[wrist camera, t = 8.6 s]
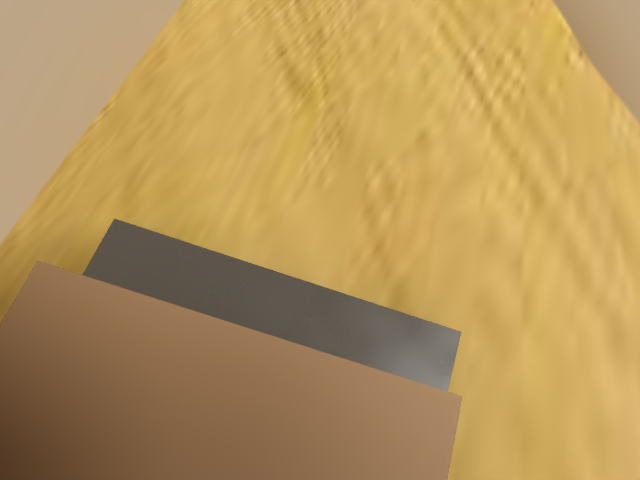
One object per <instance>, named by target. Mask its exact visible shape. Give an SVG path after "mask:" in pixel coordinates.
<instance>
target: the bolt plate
mask: <svg viewBox="0 0 640 480" xmlns="http://www.w3.org/2000/svg"><path fill="white" fill-rule="evenodd" d="M83 275H84V276H87V277H90V278H93V279H96V280H99V281H102V282H105V283H109V284H112V285H115V286H118V287H121V288H124V289H127V290H131V291H134V292H137V293H140V294H143V295H146V296H149V297H152V298H156V299H159V300H162V301H165V302H168V303H171V304H174V305H178V306H181V307H184V308H187V309H190V310H193V311H196V312H199V313H203V314H206V315H209V316H212V317H215V318H218V319H221V320H225V321H228V322H231V323H234V324H237V325H240V326H243V327H246V328H250V329H253V330H256V331H259V332H262V333H265V334H268V335H272V336H275V337H278V338H281V339H284V340H287V341H290V342H293V343H297V344H300V345H303V346H306V347H309V348H312V349H315V350H318V351H322V352H325V353H328V354H331V355H334V356H337V357H340V358H344V359H347V360H350V361H353V362H356V363H359V364H362V365H365V366H369V367H372V368H375V369H378V370H381V371H384V372H387V373H391V374H394V375H397V376H400V377H403V378H406V379H409V380H412V381H416V382H419V383H422V384H425V385H428V386H431V387H434V388H438V389H441V390H444V391H447V392H448V387H449V383H450V379H451V374H452V370H453V365H454V361H455V357H456V352H457V348H458V344H459V339H460V335H461V332H460V331H456V330H453V329H450V328H447V327H444V326H441V325H438V324H435V323H432V322H429V321H426V320H423V319H420V318H417V317H414V316H411V315H407V314H404V313H401V312H398V311H395V310H392V309H389V308H386V307H383V306H380V305H377V304H374V303H371V302H368V301H365V300H362V299H358V298H355V297H352V296H349V295H346V294H343V293H340V292H337V291H334V290H331V289H328V288H325V287H322V286H319V285H316V284H313V283H309V282H306V281H303V280H300V279H297V278H294V277H291V276H288V275H285V274H282V273H279V272H276V271H273V270H270V269H267V268H264V267H260V266H257V265H254V264H251V263H248V262H245V261H242V260H239V259H236V258H233V257H230V256H227V255H224V254H221V253H218V252H215V251H212V250H208V249H205V248H202V247H199V246H196V245H193V244H190V243H187V242H184V241H181V240H178V239H175V238H172V237H169V236H166V235H163V234H159V233H156V232H153V231H150V230H147V229H144V228H141V227H138V226H135V225H132V224H129V223H126V222H123V221H120V220H117V219H114V220H113V222H112V224H111V226H110V227H109V229H108V231H107V233H106V235H105V236H104V238H103V240H102V242H101V243H100V245H99V247H98V249H97V250H96V252H95V254H94V256H93V258H92V259H91V261H90V263H89V265H88V266H87V268H86V270H85V272H84V273H83Z"/></svg>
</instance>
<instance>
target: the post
mask: <svg viewBox="0 0 640 480" xmlns="http://www.w3.org/2000/svg"><path fill="white" fill-rule="evenodd" d="M461 401H462V396H459V395H456V394H453V393H450V392H447V391H444V390H441V389H438V388H434V387H431V386H428V385H425V384H422V383H419V382H416V381H412V380H409V379H406V378H403V377H400V376H397V375H394V374H391V373H387V372H384V371H381V370H378V369H375V368H372V367H369V366H365V365H362V364H359V363H356V362H353V361H350V360H347V359H344V358H340V357H337V356H334V355H331V354H328V353H325V352H322V351H318V350H315V349H312V348H309V347H306V346H303V345H300V344H297V343H293V342H290V341H287V340H284V339H281V338H278V337H275V336H272V335H268V334H265V333H262V332H259V331H256V330H253V329H250V328H246V327H243V326H240V325H237V324H234V323H231V322H228V321H225V320H221V319H218V318H215V317H212V316H209V315H206V314H203V313H199V312H196V311H193V310H190V309H187V308H184V307H181V306H178V305H174V304H171V303H168V302H165V301H162V300H159V299H156V298H152V297H149V296H146V295H143V294H140V293H137V292H134V291H131V290H127V289H124V288H121V287H118V286H115V285H112V284H109V283H105V282H102V281H99V280H96V279H93V278H90V277H87V276H84V275H80V274H77V273H74V272H71V271H68V270H65V269H62V268H59V267H55V266H52V265H49V264H46V263H43V262H40V261H37V263H36V265H35V266H34V268H33V270H32V272H31V273H30V275H29V277H28V278H27V280H26V282H25V284H24V285H23V287H22V289H21V291H20V292H19V294H18V296H17V297H16V299H15V301H14V303H13V304H12V306H11V308H10V310H9V311H8V313H7V315H6V316H5V318H4V320H3V322H2V323H1V325H0V480H447V479H448V473H449V468H450V462H451V456H452V451H453V445H454V440H455V434H456V429H457V423H458V417H459V412H460V406H461Z"/></svg>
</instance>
